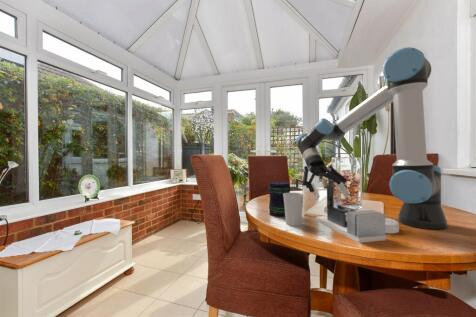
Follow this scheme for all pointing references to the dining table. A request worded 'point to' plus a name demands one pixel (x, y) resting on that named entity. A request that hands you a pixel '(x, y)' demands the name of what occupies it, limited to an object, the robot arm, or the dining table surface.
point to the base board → (344, 231)
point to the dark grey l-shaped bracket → (331, 196)
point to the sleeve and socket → (358, 221)
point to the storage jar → (277, 198)
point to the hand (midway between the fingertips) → (332, 197)
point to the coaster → (391, 226)
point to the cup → (293, 208)
